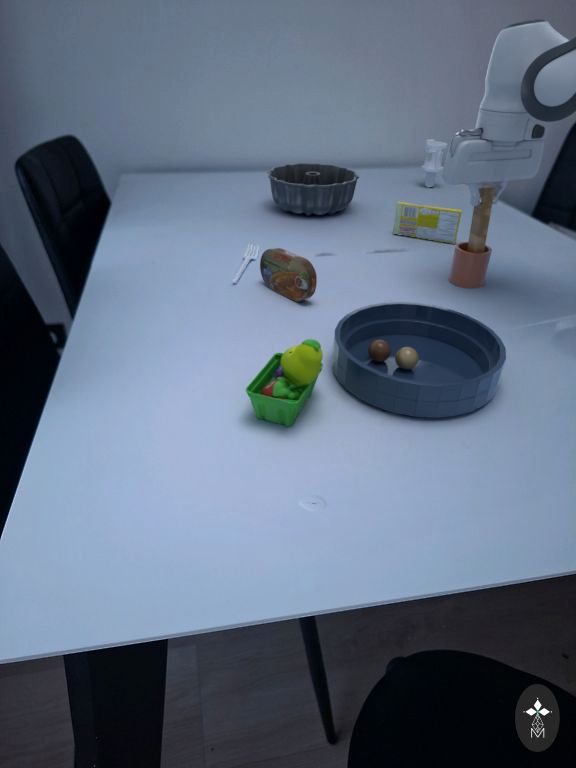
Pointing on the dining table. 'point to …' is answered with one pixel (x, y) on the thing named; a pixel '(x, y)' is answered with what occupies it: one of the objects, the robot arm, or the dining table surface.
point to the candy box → (427, 222)
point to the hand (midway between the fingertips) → (483, 204)
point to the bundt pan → (312, 187)
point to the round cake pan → (435, 364)
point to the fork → (246, 261)
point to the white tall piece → (433, 160)
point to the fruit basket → (286, 383)
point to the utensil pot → (469, 267)
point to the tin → (288, 274)
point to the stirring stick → (481, 221)
